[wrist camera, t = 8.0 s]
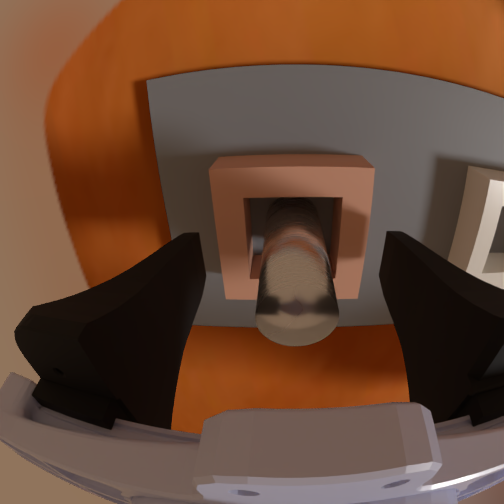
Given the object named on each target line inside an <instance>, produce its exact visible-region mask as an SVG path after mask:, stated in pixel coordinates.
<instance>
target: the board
mask: <svg viewBox="0 0 504 504" xmlns="http://www.w3.org/2000/svg"><path fill="white" fill-rule="evenodd" d="M147 90H148V99H149V107H150V115H151V123H152V130H153V137H154V144H155V150H156V157H157V163H158V169H159V175H160V181H161V187H162V192H163V198H164V203H165V208H166V213H167V218H168V223H169V228H170V233H171V238H172V240H173V239H174V238H176V237H177V236H179V235H181V234H183V233H189V232H199V235H200V241H201V247H202V253H203V259H204V264H205V270H206V281H205V286H204V291H203V296H202V299H201V302H200V305H199V307H198V310H197V313H196V316H195V319H194V321H193V324H192V325H203V326H227V327H257V325H256V322H255V311H256V303H257V300H237V299H226V297H225V290H224V283H223V276H222V269H221V262H220V255H219V248H218V240H217V233H216V225H215V218H214V210H213V202H212V194H211V186H210V177H209V169H210V167H211V166H212V165H213V163H214V162H215V161H216V160H217V159H218V157H225V156H244V155H273V154H332V155H361V156H363V157H364V158H365V159H366V160H367V161H368V162H369V163H370V164H371V165H372V166H373V167H374V168H375V174H374V186H373V196H372V206H371V215H370V223H369V231H368V239H367V246H366V252H365V259H364V265H363V271H362V277H361V283H360V288H359V294H358V299H337V303H338V308H339V320H338V323H337V326H336V327H342V326H366V325H383V324H394V323H393V320H392V318H391V315H390V312H389V310H388V307H387V304H386V301H385V299H384V296H383V292H382V288H381V283H380V279H379V270H380V265H381V260H382V255H383V249H384V243H385V238H386V231H402V232H404V233H406V234H408V235H409V236H411V237H413V238H414V239H416V240H417V241H419V242H420V243H422V244H423V245H425V246H426V247H428V248H429V249H431V250H432V251H434V252H435V253H437V254H438V255H440V256H441V257H443V258H444V259H446V260H448V257H449V253H450V250H451V246H452V242H453V239H454V235H455V231H456V227H457V222H458V218H459V214H460V209H461V204H462V199H463V194H464V189H465V183H466V177H467V171H468V166H474V167H480V168H486V169H492V170H498V171H503V172H504V98H501V97H498V96H495V95H492V94H489V93H486V92H483V91H479V90H476V89H473V88H469V87H465V86H462V85H458V84H454V83H450V82H446V81H442V80H437V79H432V78H428V77H423V76H417V75H412V74H406V73H400V72H393V71H386V70H378V69H370V68H360V67H348V66H333V65H259V66H243V67H231V68H221V69H212V70H204V71H197V72H190V73H184V74H178V75H172V76H166V77H161V78H156V79H151V80H147ZM278 198H280V197H264V198H249V200H250V214H251V228H252V242H253V255H262V251H263V242H264V233H265V225H266V216H267V211H268V209H269V207H270V205H271V204H272V203H273V202H274V201H275V200H276V199H278ZM305 198H307V199H309V200H310V201H311V202H312V203H313V204H314V206H315V207H316V209H317V212H318V216H319V220H320V224H321V229H322V233H323V237H324V241H325V246H326V250H327V254H330V247H331V234H332V219H333V202H334V197H305ZM489 253H504V206H502V208H501V213H500V216H499V220H498V224H497V228H496V231H495V235H494V238H493V241H492V244H491V248H490V251H489ZM503 290H504V289H503Z"/></svg>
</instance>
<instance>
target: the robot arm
mask: <svg viewBox="0 0 504 504" xmlns="http://www.w3.org/2000/svg"><path fill="white" fill-rule="evenodd" d="M379 279H380V283H381V288H382V292H383V296H384V299H385V301H386V304H387V307H388V310H389V312H390V315H391V318H392V320H393V323H394V326H395V329H396V331H397V334H398V337H399V340H400V344H401V347H402V351H403V356H404V361H405V367H406V373H407V380H408V387H409V397H410V402H391V403H383V404H374V405H364V406H352V407H338V408H317V409H261V408H253V409H239V410H227V411H224V412H222V413H220V414H217V415H215V416H213V417H210V418H208V419H206V420H204V425H203V430H202V434H195V433H188V432H181V431H175V430H171V422H172V413H173V406H174V399H175V392H176V386H177V380H178V375H179V370H180V365H181V360H182V356H183V351H184V347H185V344H186V341H187V338H188V335H189V332H190V330H191V327H192V324H193V321H194V319H195V316H196V313H197V310H198V307H199V305H200V302H201V299H202V296H203V291H204V286H205V281H206V270H205V264H204V259H203V253H202V247H201V241H200V235H199V232H189V233H183V234H181V235H179V236H177V237H176V238H174V239H173V240H171V241H170V242H168V243H167V244H166V245H164V246H163V247H161V248H160V249H159V250H157V251H156V252H154V253H153V254H151V255H150V256H148V257H147V258H145V259H144V260H142V261H141V262H139V263H138V264H136V265H135V266H133V267H132V268H130V269H128V270H127V271H125V272H123V273H121V274H120V275H118V276H116V277H114V278H112V279H110V280H108V281H106V282H104V283H102V284H99V285H97V286H95V287H93V288H91V289H88V290H86V291H83V292H81V293H78V294H75V295H72V296H70V297H66V298H64V299H60V300H57V301H53V302H49V303H45V304H41V305H37V306H33V307H32V308H31V309H30V310H29V312H28V313H27V314H26V315H25V317H24V318H23V319H22V321H21V322H20V323H19V325H18V326H17V327H16V329H15V331H14V333H15V340H16V343H17V345H18V347H19V349H20V351H21V352H22V354H23V355H24V357H25V358H26V359H27V361H28V362H29V363H30V364H31V366H32V367H33V369H34V370H35V371H36V373H37V374H38V375H39V376H40V378H41V379H40V380H39V382H38V384H36V383H34V382H33V381H31V380H30V379H28V378H25V377H23V376H20V375H18V374H16V373H13V372H11V373H10V374H9V376H8V377H7V379H6V381H5V382H4V384H3V386H2V387H1V389H0V440H1V441H2V442H3V443H4V444H6V445H7V446H8V447H9V448H11V449H12V450H13V451H15V452H16V453H17V454H19V455H20V456H21V457H23V458H24V459H26V460H27V461H29V462H31V463H32V464H34V465H36V466H38V467H40V468H41V469H43V470H45V471H47V472H49V473H51V474H52V475H54V476H56V477H58V478H60V479H62V480H64V481H66V482H68V483H70V484H72V485H74V486H76V487H78V488H81V489H83V490H85V491H87V492H90V493H92V494H94V495H97V496H99V497H102V498H104V499H106V500H109V501H112V502H114V503H117V504H458V501H461V500H463V499H466V498H468V497H470V496H473V495H475V494H477V493H479V492H482V491H484V490H486V489H488V488H490V487H492V486H494V485H496V484H498V483H500V482H502V481H504V290H503V289H501V288H498V287H496V286H494V285H492V284H489V283H487V282H485V281H483V280H481V279H479V278H477V277H475V276H473V275H471V274H469V273H467V272H466V271H464V270H462V269H460V268H458V267H457V266H455V265H454V264H452V263H450V262H449V261H447V260H446V259H444V258H443V257H441V256H440V255H438V254H437V253H435V252H434V251H432V250H431V249H429V248H428V247H426V246H425V245H423V244H422V243H420V242H419V241H417V240H416V239H414V238H413V237H411V236H409V235H408V234H406V233H404V232H402V231H386V238H385V243H384V249H383V255H382V260H381V265H380V270H379Z"/></svg>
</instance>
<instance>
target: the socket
mask: <svg viewBox="0 0 504 504" xmlns="http://www.w3.org/2000/svg"><path fill="white" fill-rule="evenodd" d="M374 174H375V168H374V167H373V166H372V165H371V164H370V163H369V162H368V161H367V160H366V159H365V158H364V157H363V156H361V155H332V154H273V155H244V156H225V157H218V159H217V160H216V161H215V162H214V163H213V165H212V166H211V167H210V169H209V177H210V186H211V194H212V202H213V210H214V218H215V225H216V233H217V240H218V248H219V255H220V262H221V269H222V276H223V283H224V290H225V297H226V299H237V300H257V294H258V286H259V277H260V269H261V260H262V255H253V242H252V228H251V214H250V200H249V198H264V197H334V202H333V219H332V234H331V247H330V254H327V255H328V259H329V264H330V268H331V273H332V278H333V282H334V287H335V292H336V297H337V299H358V294H359V288H360V283H361V277H362V271H363V265H364V259H365V252H366V246H367V239H368V231H369V223H370V215H371V206H372V196H373V186H374Z"/></svg>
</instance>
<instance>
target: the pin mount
mask: <svg viewBox="0 0 504 504" xmlns="http://www.w3.org/2000/svg"><path fill="white" fill-rule="evenodd" d="M502 206H504V172H503V171H498V170H492V169H486V168H480V167H474V166H468V171H467V177H466V183H465V189H464V194H463V199H462V204H461V209H460V214H459V218H458V222H457V227H456V231H455V235H454V239H453V242H452V246H451V250H450V253H449V257H448V260H447V261H449V262H450V263H452V264H454V265H455V266H457V267H458V268H460V269H462V270H464V271H466V272H467V273H469V274H471V275H473V276H475V277H477V278H479V279H481V280H483V281H485V282H487V283H489V284H492V285H494V286H496V287H498V288H501V289H504V253H489V251H490V248H491V244H492V241H493V238H494V235H495V231H496V228H497V224H498V220H499V216H500V213H501V208H502Z"/></svg>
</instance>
